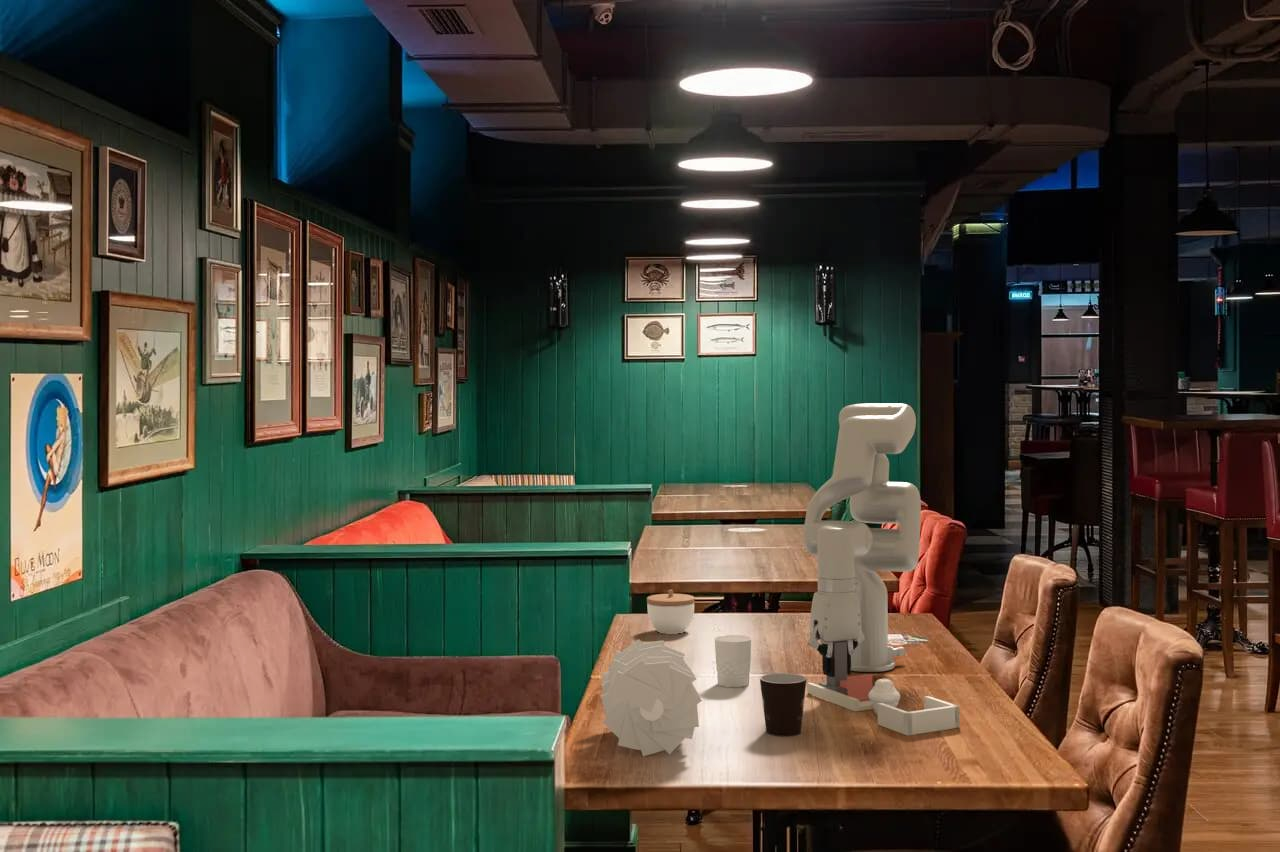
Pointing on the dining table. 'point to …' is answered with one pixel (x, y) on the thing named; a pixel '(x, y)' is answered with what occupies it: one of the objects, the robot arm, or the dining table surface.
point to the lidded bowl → (670, 612)
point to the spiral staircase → (650, 698)
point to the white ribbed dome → (883, 694)
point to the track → (839, 698)
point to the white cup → (733, 660)
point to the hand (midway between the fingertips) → (836, 673)
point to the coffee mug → (783, 702)
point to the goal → (920, 717)
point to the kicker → (840, 681)
